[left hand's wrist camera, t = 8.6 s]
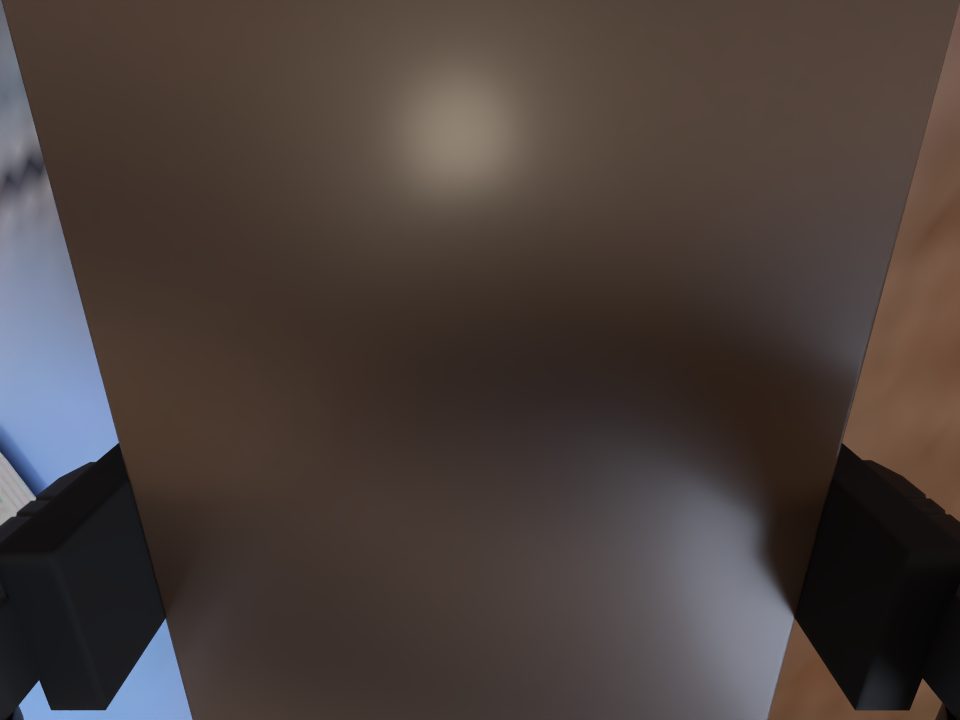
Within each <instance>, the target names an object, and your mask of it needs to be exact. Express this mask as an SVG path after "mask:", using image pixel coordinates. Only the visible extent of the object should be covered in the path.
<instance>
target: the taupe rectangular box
mask: <svg viewBox="0 0 960 720" xmlns="http://www.w3.org/2000/svg"><path fill="white" fill-rule="evenodd" d="M959 3H960V0H2V4H3V8H4V11H5V15H6V19H7V23H8V27H9V30H10V34H11V38H12V42H13V45H14V49H15V53H16V57H17V60H18V64H19V68H20V72H21V75H22V79H23V83H24V87H25V91H26V94H27V98H28V102H29V106H30V109H31V113H32V117H33V121H34V124H35V128H36V132H37V136H38V139H39V143H40V147H41V151H42V155H43V158H44V162H45V166H46V170H47V173H48V177H49V181H50V185H51V188H52V192H53V196H54V200H55V203H56V207H57V211H58V215H59V218H60V222H61V226H62V230H63V234H64V237H65V241H66V245H67V249H68V252H69V256H70V260H71V264H72V267H73V271H74V275H75V279H76V282H77V286H78V290H79V294H80V298H81V301H82V305H83V309H84V313H85V316H86V320H87V324H88V328H89V331H90V335H91V339H92V343H93V346H94V350H95V354H96V358H97V362H98V365H99V369H100V373H101V377H102V380H103V384H104V388H105V392H106V395H107V399H108V403H109V407H110V410H111V414H112V418H113V422H114V426H115V429H116V433H117V437H118V441H119V444H120V448H121V452H122V456H123V459H124V463H125V467H126V471H127V474H128V478H129V482H130V486H131V490H132V493H133V497H134V501H135V505H136V508H137V512H138V516H139V520H140V523H141V527H142V531H143V535H144V538H145V542H146V546H147V550H148V554H149V557H150V561H151V565H152V569H153V572H154V576H155V580H156V584H157V587H158V591H159V595H160V599H161V602H162V606H163V610H164V614H165V617H166V621H167V625H168V629H169V633H170V636H171V640H172V644H173V648H174V651H175V655H176V659H177V663H178V666H179V670H180V674H181V678H182V681H183V685H184V689H185V693H186V697H187V700H188V704H189V708H190V712H191V715H192V719H193V720H768V718H769V714H770V710H771V706H772V703H773V699H774V695H775V691H776V688H777V684H778V680H779V676H780V673H781V669H782V665H783V661H784V658H785V654H786V650H787V647H788V643H789V639H790V635H791V632H792V628H793V624H794V620H795V617H796V613H797V609H798V605H799V602H800V598H801V594H802V590H803V587H804V583H805V579H806V575H807V572H808V568H809V564H810V560H811V557H812V553H813V549H814V545H815V542H816V538H817V534H818V530H819V527H820V523H821V519H822V515H823V512H824V508H825V504H826V500H827V497H828V493H829V489H830V486H831V482H832V478H833V474H834V471H835V467H836V463H837V459H838V456H839V452H840V448H841V444H842V441H843V437H844V433H845V429H846V426H847V422H848V418H849V414H850V411H851V407H852V403H853V399H854V396H855V392H856V388H857V384H858V381H859V377H860V373H861V369H862V366H863V362H864V358H865V354H866V351H867V347H868V343H869V339H870V336H871V332H872V328H873V325H874V321H875V317H876V313H877V310H878V306H879V302H880V298H881V295H882V291H883V287H884V283H885V280H886V276H887V272H888V268H889V265H890V261H891V257H892V253H893V250H894V246H895V242H896V238H897V235H898V231H899V227H900V223H901V220H902V216H903V212H904V208H905V205H906V201H907V197H908V193H909V190H910V186H911V182H912V179H913V175H914V171H915V167H916V164H917V160H918V156H919V152H920V149H921V145H922V141H923V137H924V134H925V130H926V126H927V122H928V119H929V115H930V111H931V107H932V104H933V100H934V96H935V92H936V89H937V85H938V81H939V77H940V74H941V70H942V66H943V62H944V59H945V55H946V51H947V47H948V44H949V40H950V36H951V32H952V29H953V25H954V21H955V18H956V14H957V10H958V6H959Z"/></svg>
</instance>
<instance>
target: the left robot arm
mask: <svg viewBox="0 0 960 720" xmlns="http://www.w3.org/2000/svg"><path fill="white" fill-rule="evenodd" d="M16 513H17V515H16V517H10V518H9V519H8V520H7V521H5V522H4V523H3V524H2V525H0V720H24V718H23V715H22V712H21V710H20V708H19V704H20V703H21V702H22V700H23V699H24V698H25V697H26V695H27V694H28V693H29V692H30V691H31V689H32V688H33V687H34V686H35V684H36V683H37V682H38V681H40V683H41V686H42V688H43V691H44V693H45V696H46V698H47V701H48V703H49V706H50V708H51V710H106V709H107V707H108V706H109V704H110V703H111V701H112V700H113V698H114V696H115V695H116V693H117V692H118V690H119V689H120V687H121V686H122V684H123V683H124V681H125V680H126V678H127V677H128V675H129V673H130V672H131V670H132V669H133V667H134V666H135V664H136V663H137V661H138V660H139V658H140V657H141V655H142V654H143V652H144V651H145V649H146V647H147V646H148V644H149V643H150V641H151V640H152V638H153V637H154V635H155V634H156V632H157V631H158V629H159V628H160V626H161V625H162V623H163V621H164V620H165V618H166V617H165V614H164V610H163V606H162V602H161V599H160V595H159V591H158V587H157V584H156V580H155V576H154V572H153V569H152V565H151V561H150V557H149V554H148V550H147V546H146V542H145V538H144V535H143V531H142V527H141V523H140V520H139V516H138V512H137V508H136V505H135V501H134V497H133V493H132V490H131V486H130V482H129V478H128V474H127V471H126V467H125V463H124V459H123V456H122V452H121V448H120V444H119V443H118V444H117V445H116V446H115V447H113V448H112V449H111V450H110V451H109V452H107V453H106V454H105V455H104V456H103V457H102V458H100V459H99V460H98V461H97V462H89V463H87V464H85V465H83V466H82V467H80V468H78V469H76V470H74V471H72V472H70V473H68V474H66V475H64V476H62V477H60V478H58V479H57V480H56V481H55V482H54V483H52V484H51V485H50V486H49V487H47V488H46V489H45V490H44V491H42V492H41V493H40V494H39V495H37V496H36V500H35V501H30V502H29V503H28V504H26V505H25V506H24V507H23V508H21V509H20V510H19V511H18V512H16ZM795 619H796V621H797V622H798V624H799V625H800V627H801V628H802V630H803V631H804V633H805V634H806V636H807V637H808V639H809V640H810V642H811V643H812V645H813V647H814V648H815V650H816V651H817V653H818V654H819V656H820V657H821V659H822V660H823V662H824V663H825V665H826V666H827V668H828V670H829V671H830V673H831V674H832V676H833V677H834V679H835V680H836V682H837V683H838V685H839V686H840V688H841V689H842V691H843V692H844V694H845V696H846V697H847V699H848V700H849V702H850V703H851V705H852V706H853V708H854V709H855V710H910V708H911V705H912V703H913V700H914V698H915V695H916V693H917V690H918V688H919V685H920V683H921V680H922V678H923V679H924V680H925V682H926V683H927V684H928V685H929V686H930V688H931V689H932V690H933V691H934V693H935V694H936V695H937V696H938V697H939V699H940V700H941V701H942V702H943V703H942V705H941V708H940V710H939V712H938V715H937V717H936V719H935V720H960V522H959V521H958V520H956V519H955V518H954V517H953V516H951V515H946V514H945V510H944V509H943V508H941V507H940V506H939V505H938V504H936V503H935V502H934V501H933V500H931V499H926V495H925V494H924V493H923V492H922V491H920V490H919V489H918V488H917V487H915V486H914V485H913V484H912V483H910V482H909V481H908V480H907V479H905V478H904V477H903V476H901V475H899V474H897V473H895V472H893V471H891V470H889V469H887V468H885V467H883V466H882V465H880V464H878V463H876V462H874V461H872V460H862V459H860V458H859V457H858V456H857V455H856V454H854V453H853V452H852V451H851V450H850V449H849V448H847V447H846V446H845V445H844V444H843V443H842V444H841V448H840V452H839V456H838V459H837V463H836V467H835V471H834V474H833V478H832V482H831V486H830V489H829V493H828V497H827V500H826V504H825V508H824V512H823V515H822V519H821V523H820V527H819V530H818V534H817V538H816V542H815V545H814V549H813V553H812V557H811V560H810V564H809V568H808V572H807V575H806V579H805V583H804V587H803V590H802V594H801V598H800V602H799V605H798V609H797V613H796V617H795Z"/></svg>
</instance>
